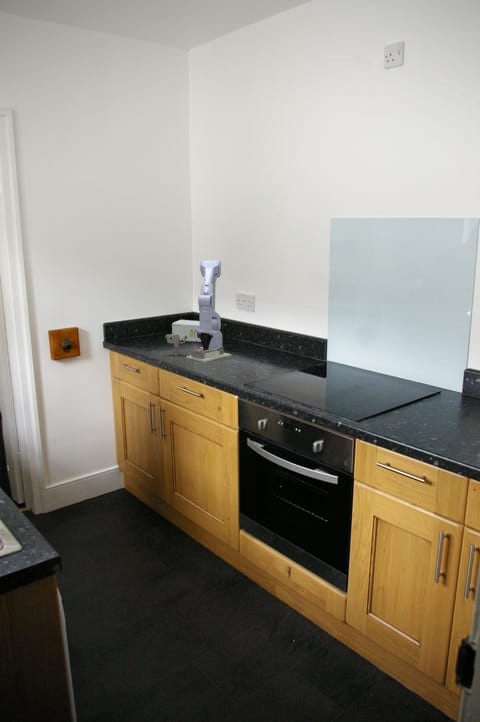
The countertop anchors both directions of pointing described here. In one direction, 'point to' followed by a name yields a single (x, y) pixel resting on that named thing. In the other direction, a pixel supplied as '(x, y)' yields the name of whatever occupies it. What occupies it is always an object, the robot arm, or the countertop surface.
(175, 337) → the mechanical component
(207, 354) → the board
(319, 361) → the countertop surface
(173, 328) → the supplement box
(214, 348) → the strip
